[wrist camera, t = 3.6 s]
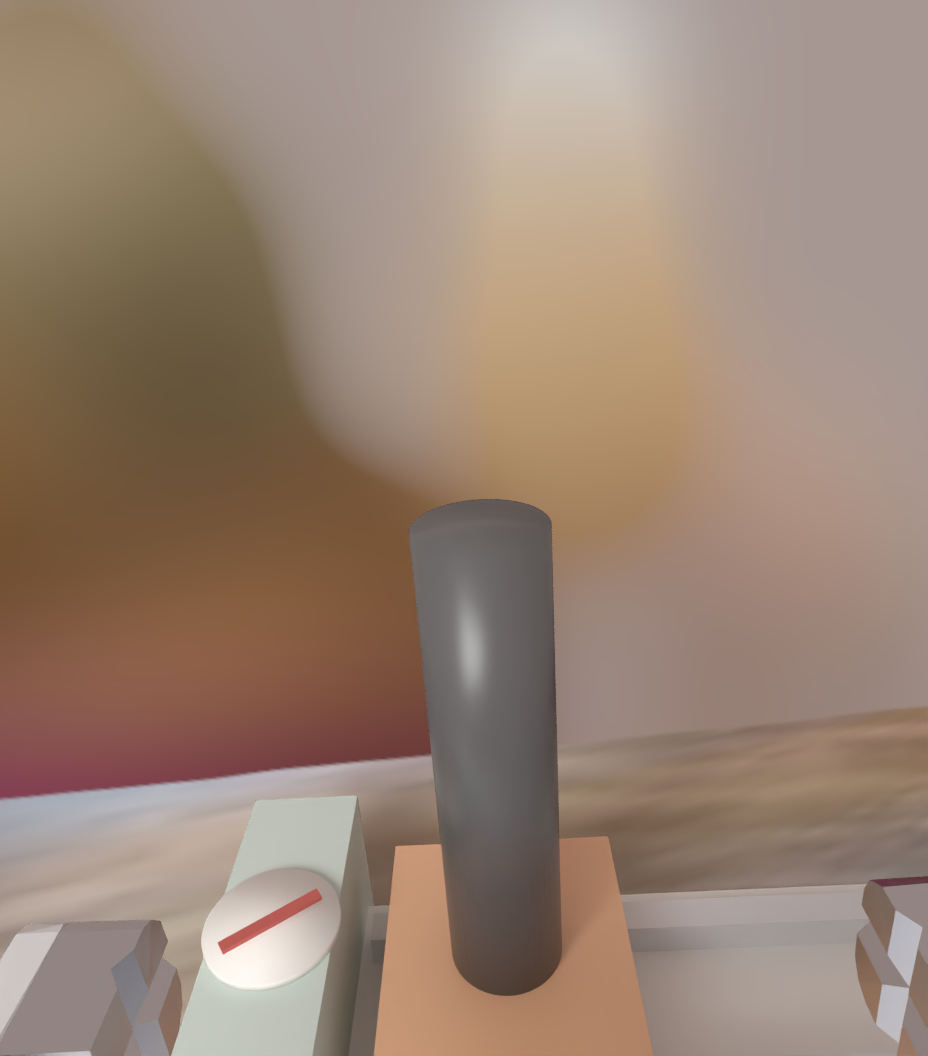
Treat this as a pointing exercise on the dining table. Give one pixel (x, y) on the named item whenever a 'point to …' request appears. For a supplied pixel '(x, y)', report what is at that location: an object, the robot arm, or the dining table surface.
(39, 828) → the dining table surface
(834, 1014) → the track
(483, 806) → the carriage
